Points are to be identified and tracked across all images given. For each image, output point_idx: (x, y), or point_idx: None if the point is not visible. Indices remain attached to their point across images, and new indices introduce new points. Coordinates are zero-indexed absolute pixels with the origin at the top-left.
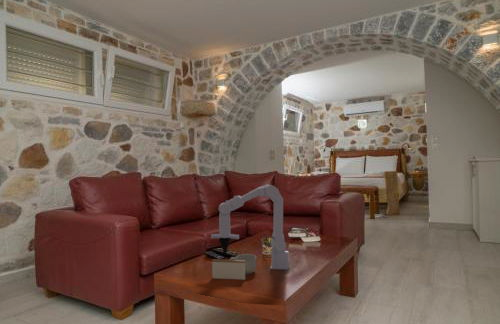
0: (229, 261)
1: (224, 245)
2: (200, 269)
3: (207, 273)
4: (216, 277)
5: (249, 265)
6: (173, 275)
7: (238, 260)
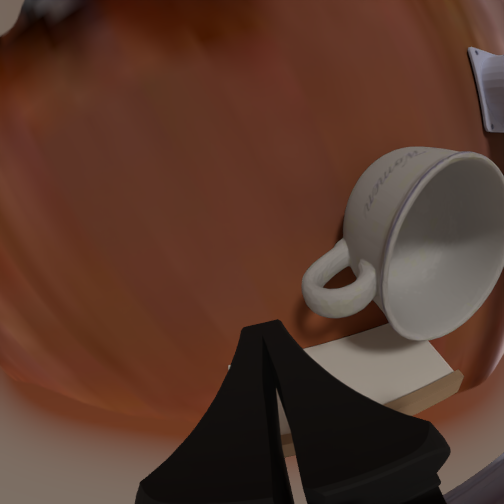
0: None
1: (278, 441)
2: (65, 273)
3: (152, 325)
4: None
5: (456, 291)
6: (46, 379)
7: (425, 402)
